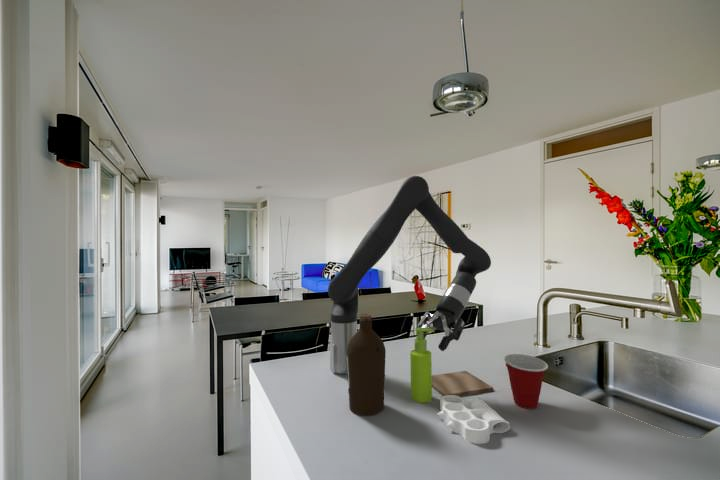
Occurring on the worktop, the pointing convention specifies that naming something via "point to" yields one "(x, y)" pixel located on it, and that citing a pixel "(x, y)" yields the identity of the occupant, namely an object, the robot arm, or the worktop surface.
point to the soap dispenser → (421, 369)
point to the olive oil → (366, 369)
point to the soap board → (459, 384)
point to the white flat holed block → (471, 418)
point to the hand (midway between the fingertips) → (429, 345)
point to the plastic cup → (525, 378)
